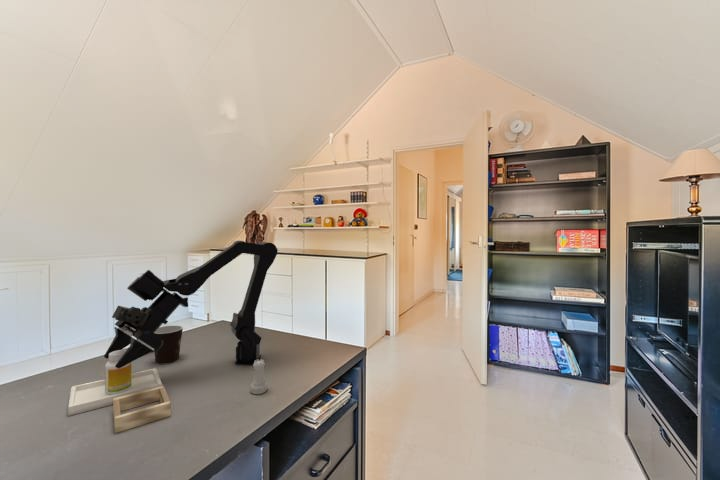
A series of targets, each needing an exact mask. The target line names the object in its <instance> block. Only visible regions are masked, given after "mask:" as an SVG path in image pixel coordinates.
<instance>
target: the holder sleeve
mask: <svg viewBox="0 0 720 480" xmlns="http://www.w3.org/2000/svg"><path fill="white" fill-rule="evenodd" d="M155 402H159V404H156V405H155V404H154V405H151V406H147V407H144V408H141V409H137V410H134V411H130V412H126V413H123V414H121V412H123V411H126V410H130V409H134V408H138V407H141V406H145V405H149V404H151V403H155ZM112 409H113V410H112V411H113V412H112V413H113V414H112V415H113V425H114V426H113V427H114V434H116V433H117V434H118V433H120V432H123V431H126V430H130V429H133V428H136V427H139V426H142V425H146V424H150V423H151V422H152V423H153V422H155V421H159V420H162V419H166V418H168V417H171V411H172V410H171V401H170V398H169V396H168V394H167V390H166V388H165V386H164V385H162V386H161V387H157V388H153V389H149V390H145V391H141V392H137V393H133V394H129V395H125V396H121V397H117V398H114V399H113V405H112Z"/></svg>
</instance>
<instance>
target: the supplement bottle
mask: <svg viewBox="0 0 720 480" xmlns="http://www.w3.org/2000/svg"><path fill="white" fill-rule="evenodd" d="M126 351H127V349H122V350H117V351H113V352H111V353H109V358H108V361H107V362H106V363H105V365H104V367H105V368H104V379H105V392H106V393H107V394H118V393H122V392H124V391H127V390H128V389H130V388H131V373H132V362H130V363H129V364H127V365H125V366H123V367H121V368H116V367H115V365H116V364H117V363H118V361H119V360H120V358H121V357H122V356H123V355H124V353H125V352H126Z"/></svg>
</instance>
